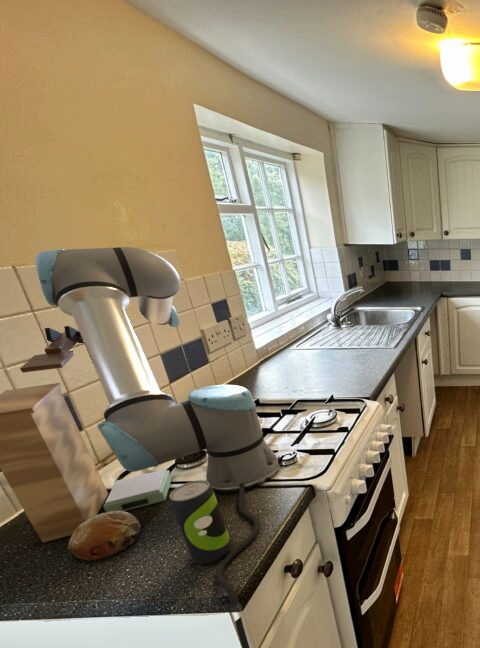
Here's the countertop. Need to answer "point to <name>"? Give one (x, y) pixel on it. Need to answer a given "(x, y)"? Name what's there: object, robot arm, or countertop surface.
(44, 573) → the countertop surface
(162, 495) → the scale
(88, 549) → the bread roll
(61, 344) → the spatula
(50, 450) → the stand
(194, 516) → the beverage can
